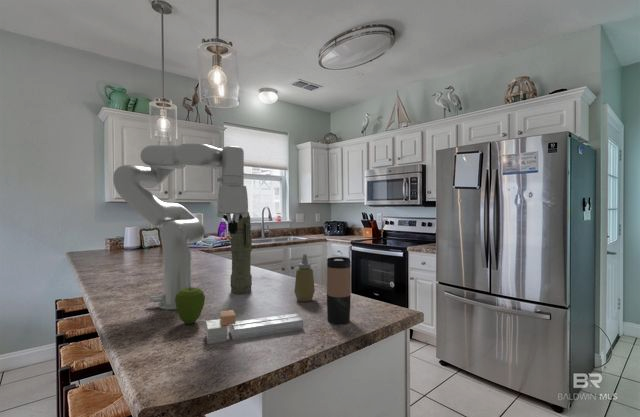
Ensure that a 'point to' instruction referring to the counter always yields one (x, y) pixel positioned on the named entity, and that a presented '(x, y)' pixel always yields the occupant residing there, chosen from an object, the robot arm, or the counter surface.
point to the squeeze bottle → (304, 281)
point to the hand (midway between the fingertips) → (232, 233)
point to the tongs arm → (263, 320)
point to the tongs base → (250, 329)
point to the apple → (189, 304)
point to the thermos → (241, 257)
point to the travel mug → (338, 290)
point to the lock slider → (227, 317)
